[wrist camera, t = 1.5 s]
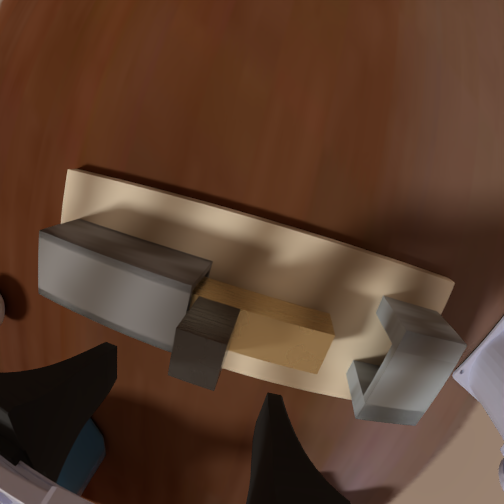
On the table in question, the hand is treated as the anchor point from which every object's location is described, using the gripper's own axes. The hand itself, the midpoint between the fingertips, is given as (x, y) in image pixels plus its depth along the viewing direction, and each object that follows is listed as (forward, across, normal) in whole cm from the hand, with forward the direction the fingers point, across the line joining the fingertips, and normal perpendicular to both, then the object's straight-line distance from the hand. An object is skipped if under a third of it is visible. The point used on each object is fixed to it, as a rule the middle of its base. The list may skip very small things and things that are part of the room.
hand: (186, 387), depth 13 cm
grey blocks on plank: (+11, -1, 0) cm, 11 cm away
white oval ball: (+12, +28, +9) cm, 31 cm away
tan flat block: (+9, +3, -1) cm, 9 cm away
